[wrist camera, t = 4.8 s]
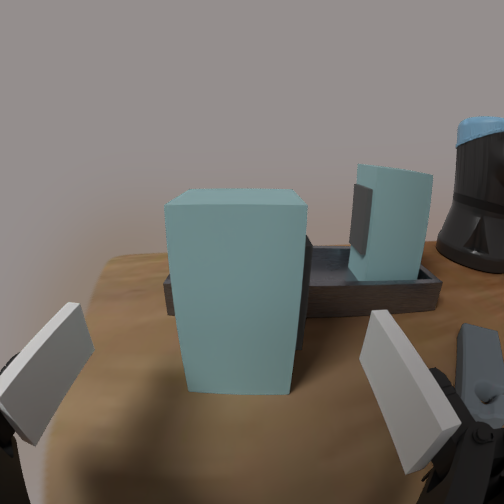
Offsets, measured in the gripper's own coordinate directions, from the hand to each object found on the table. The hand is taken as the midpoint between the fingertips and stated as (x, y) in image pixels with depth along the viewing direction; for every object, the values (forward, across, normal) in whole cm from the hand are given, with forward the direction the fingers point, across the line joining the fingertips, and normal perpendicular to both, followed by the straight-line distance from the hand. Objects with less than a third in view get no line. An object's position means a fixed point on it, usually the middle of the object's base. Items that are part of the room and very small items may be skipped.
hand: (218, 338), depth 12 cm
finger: (+4, +1, -6) cm, 7 cm away
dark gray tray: (+15, +7, -6) cm, 18 cm away
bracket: (0, +18, -6) cm, 19 cm away
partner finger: (+15, +15, -4) cm, 22 cm away
